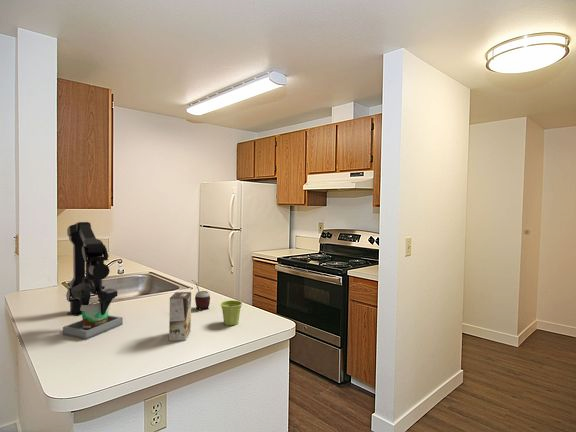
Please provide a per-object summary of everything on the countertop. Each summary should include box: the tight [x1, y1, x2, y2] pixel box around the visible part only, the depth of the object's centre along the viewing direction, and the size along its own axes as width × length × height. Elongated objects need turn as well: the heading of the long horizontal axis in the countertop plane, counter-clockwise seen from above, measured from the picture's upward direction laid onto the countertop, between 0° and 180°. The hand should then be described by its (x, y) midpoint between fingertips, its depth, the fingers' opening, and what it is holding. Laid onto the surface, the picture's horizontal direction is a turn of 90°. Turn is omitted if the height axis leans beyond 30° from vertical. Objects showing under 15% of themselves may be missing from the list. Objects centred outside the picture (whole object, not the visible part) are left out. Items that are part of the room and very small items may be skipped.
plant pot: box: [219, 300, 243, 326], centre depth 149 cm, size 9×9×9 cm
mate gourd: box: [191, 279, 211, 312], centre depth 167 cm, size 8×8×15 cm
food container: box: [80, 301, 111, 330], centre depth 140 cm, size 12×6×10 cm, turn 162°
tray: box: [62, 314, 124, 341], centre depth 139 cm, size 12×17×3 cm
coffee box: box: [168, 291, 192, 342], centre depth 134 cm, size 9×6×16 cm
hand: (94, 313), depth 138 cm, fingers open, 9 cm apart
